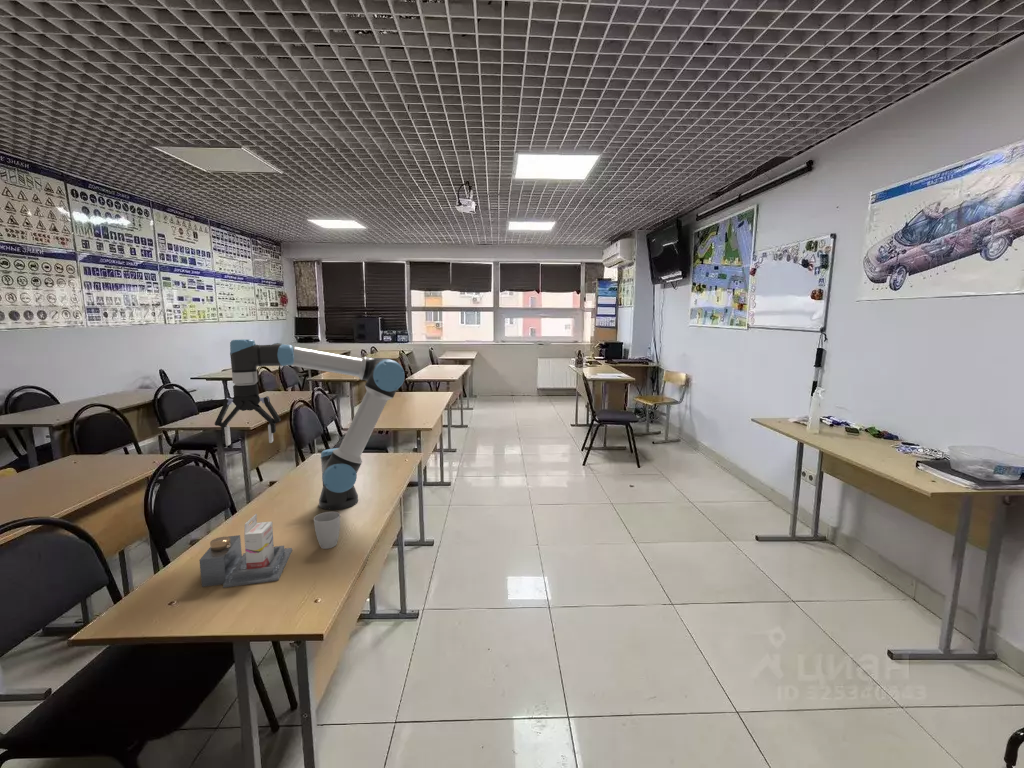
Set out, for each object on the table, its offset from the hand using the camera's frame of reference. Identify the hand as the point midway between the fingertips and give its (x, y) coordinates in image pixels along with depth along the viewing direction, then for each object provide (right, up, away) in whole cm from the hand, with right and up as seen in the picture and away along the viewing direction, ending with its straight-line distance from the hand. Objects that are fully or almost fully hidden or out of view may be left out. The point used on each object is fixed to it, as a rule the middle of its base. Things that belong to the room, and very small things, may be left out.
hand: (250, 443), depth 158 cm
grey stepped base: (+13, -35, -23) cm, 44 cm away
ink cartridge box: (+17, -34, -23) cm, 44 cm away
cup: (+31, -33, -9) cm, 46 cm away
